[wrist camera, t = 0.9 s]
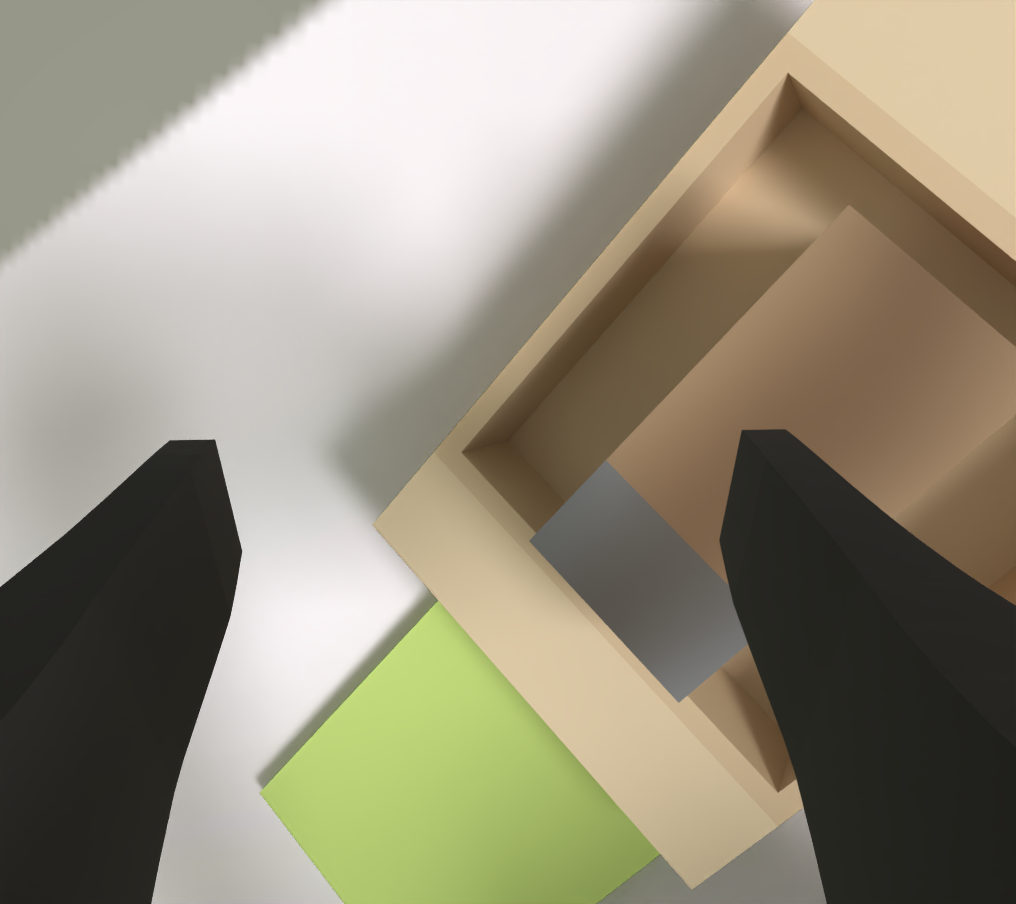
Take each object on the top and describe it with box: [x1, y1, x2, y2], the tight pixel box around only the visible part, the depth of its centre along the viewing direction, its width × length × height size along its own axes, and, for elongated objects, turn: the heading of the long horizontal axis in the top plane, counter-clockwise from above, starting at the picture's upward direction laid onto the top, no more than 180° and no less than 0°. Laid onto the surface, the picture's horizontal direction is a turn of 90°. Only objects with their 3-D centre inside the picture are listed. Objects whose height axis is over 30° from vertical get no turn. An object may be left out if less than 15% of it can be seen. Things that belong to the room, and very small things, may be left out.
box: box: [529, 205, 1016, 703], centre depth 20 cm, size 4×9×7 cm, turn 137°
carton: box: [372, 0, 1016, 890], centre depth 21 cm, size 13×19×4 cm
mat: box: [260, 601, 660, 904], centre depth 29 cm, size 10×12×1 cm
